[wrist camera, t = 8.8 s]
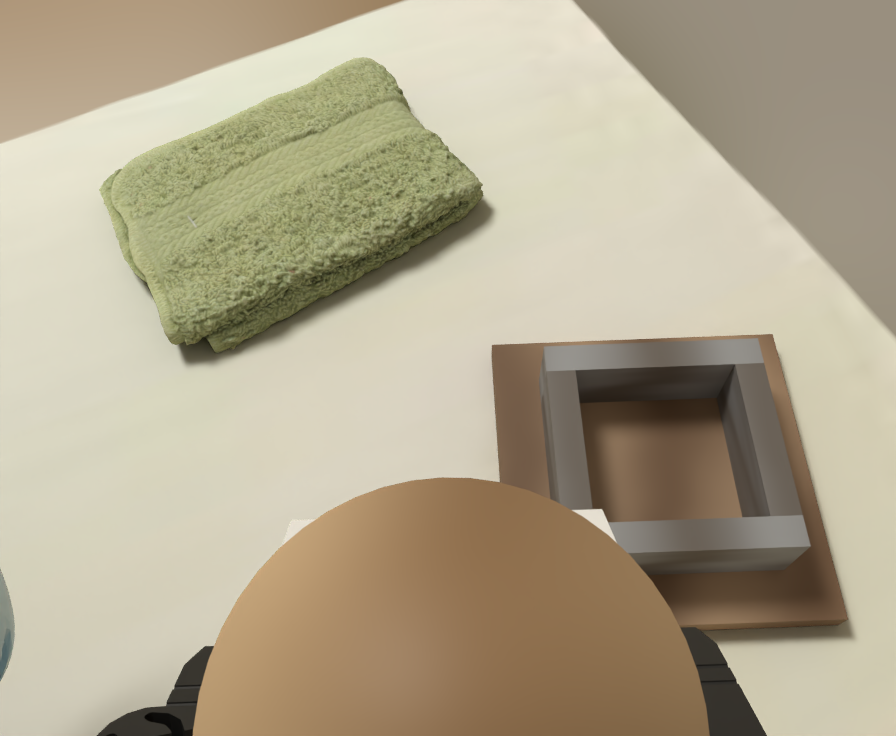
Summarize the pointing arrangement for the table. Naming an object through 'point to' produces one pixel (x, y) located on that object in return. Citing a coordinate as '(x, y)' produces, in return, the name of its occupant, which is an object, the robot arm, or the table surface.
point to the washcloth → (284, 204)
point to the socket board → (677, 468)
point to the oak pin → (451, 627)
